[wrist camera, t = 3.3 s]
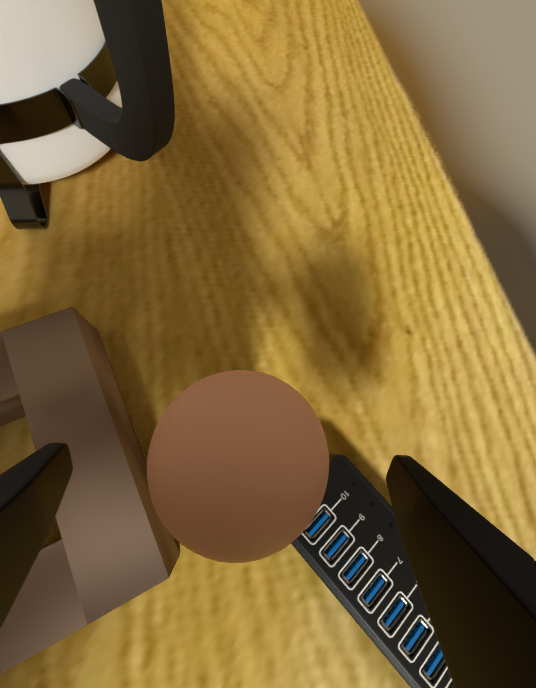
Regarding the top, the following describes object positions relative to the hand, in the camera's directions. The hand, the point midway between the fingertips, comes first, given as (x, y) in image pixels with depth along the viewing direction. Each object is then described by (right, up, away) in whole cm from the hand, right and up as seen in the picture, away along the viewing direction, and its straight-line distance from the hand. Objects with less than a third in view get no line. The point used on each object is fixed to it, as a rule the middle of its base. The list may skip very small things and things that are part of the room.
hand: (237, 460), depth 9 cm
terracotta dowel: (-1, -2, +8) cm, 8 cm away
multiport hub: (+7, -9, +7) cm, 14 cm away
